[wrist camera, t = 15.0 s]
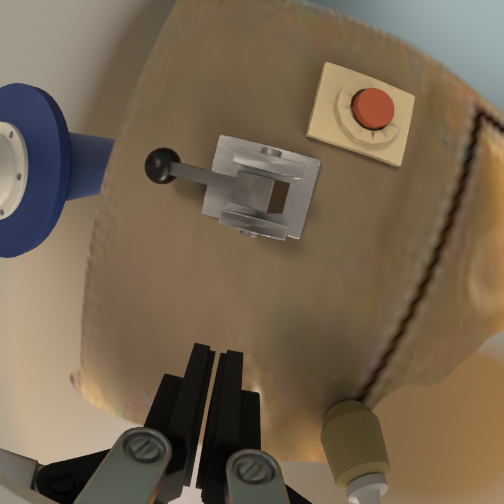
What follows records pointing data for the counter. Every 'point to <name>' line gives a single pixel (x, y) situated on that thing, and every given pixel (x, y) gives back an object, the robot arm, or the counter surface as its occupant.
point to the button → (373, 108)
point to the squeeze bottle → (356, 451)
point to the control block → (347, 126)
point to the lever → (220, 181)
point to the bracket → (270, 165)
